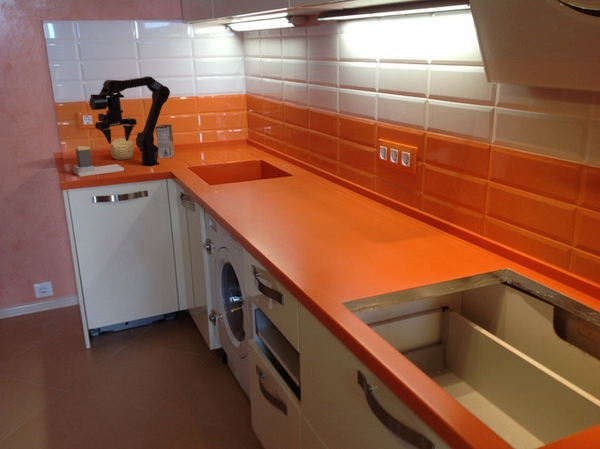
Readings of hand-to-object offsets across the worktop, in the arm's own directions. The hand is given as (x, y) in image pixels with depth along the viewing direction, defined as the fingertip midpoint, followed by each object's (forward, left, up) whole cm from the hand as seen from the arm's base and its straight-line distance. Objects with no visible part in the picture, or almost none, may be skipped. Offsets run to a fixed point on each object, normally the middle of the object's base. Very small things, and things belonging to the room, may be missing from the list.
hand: (118, 142), depth 254 cm
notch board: (+8, -6, -13) cm, 17 cm away
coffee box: (-33, -8, -13) cm, 36 cm away
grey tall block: (+14, -7, -12) cm, 20 cm away
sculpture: (-16, -22, -13) cm, 30 cm away
